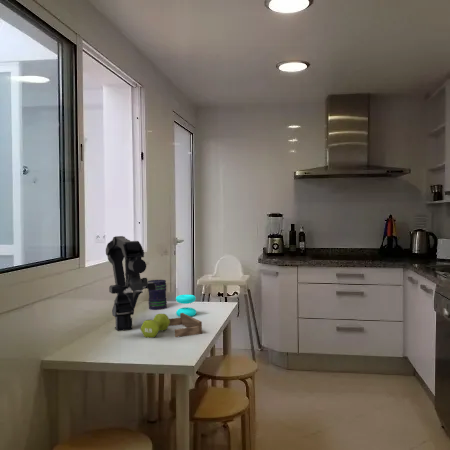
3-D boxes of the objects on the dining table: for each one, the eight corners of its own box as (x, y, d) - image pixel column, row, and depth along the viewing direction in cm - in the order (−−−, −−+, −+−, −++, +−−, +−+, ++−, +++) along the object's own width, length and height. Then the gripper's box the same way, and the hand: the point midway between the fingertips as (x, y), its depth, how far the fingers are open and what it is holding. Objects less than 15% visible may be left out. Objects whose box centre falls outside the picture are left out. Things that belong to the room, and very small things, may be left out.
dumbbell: (157, 338, 205) (156, 321, 204) (139, 338, 207) (138, 320, 207) (171, 329, 220) (171, 313, 220) (154, 328, 223) (154, 312, 222)
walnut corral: (176, 337, 206) (175, 325, 206) (158, 326, 226) (158, 315, 226) (202, 333, 211) (201, 321, 211) (182, 323, 231) (182, 312, 231)
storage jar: (165, 309, 266) (164, 281, 266) (147, 310, 266) (146, 282, 266) (167, 306, 276) (167, 279, 276) (150, 306, 276) (149, 279, 276)
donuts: (174, 294, 253) (193, 293, 256) (174, 314, 253) (193, 312, 256) (177, 297, 243) (197, 296, 246) (178, 318, 243) (198, 316, 246)
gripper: (114, 274, 197) (116, 313, 198) (159, 271, 206) (160, 308, 206) (108, 272, 207) (109, 309, 208) (151, 268, 216) (152, 304, 216)
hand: (133, 308), depth 209 cm, fingers closed
